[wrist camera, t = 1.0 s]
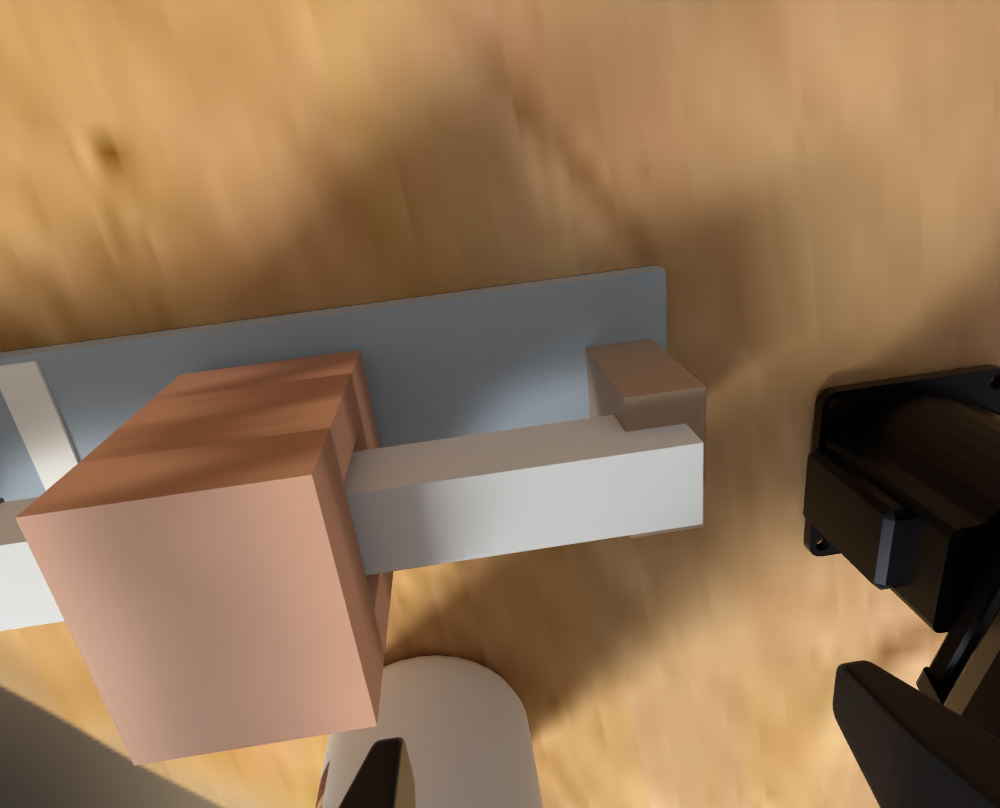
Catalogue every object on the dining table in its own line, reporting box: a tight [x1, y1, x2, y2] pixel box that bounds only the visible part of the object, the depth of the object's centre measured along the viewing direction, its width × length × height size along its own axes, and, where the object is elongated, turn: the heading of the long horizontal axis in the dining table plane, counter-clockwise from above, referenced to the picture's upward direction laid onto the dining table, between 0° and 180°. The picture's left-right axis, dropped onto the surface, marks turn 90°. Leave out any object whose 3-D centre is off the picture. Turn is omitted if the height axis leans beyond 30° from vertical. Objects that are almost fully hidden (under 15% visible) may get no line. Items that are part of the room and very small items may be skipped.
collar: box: [15, 350, 393, 765], centre depth 15 cm, size 5×6×7 cm
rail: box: [0, 265, 706, 631], centre depth 17 cm, size 25×8×6 cm, turn 96°
